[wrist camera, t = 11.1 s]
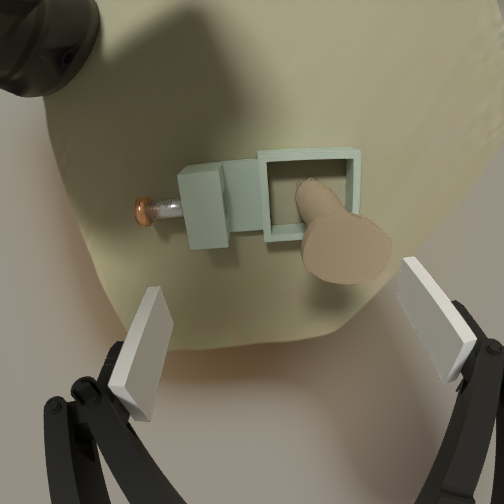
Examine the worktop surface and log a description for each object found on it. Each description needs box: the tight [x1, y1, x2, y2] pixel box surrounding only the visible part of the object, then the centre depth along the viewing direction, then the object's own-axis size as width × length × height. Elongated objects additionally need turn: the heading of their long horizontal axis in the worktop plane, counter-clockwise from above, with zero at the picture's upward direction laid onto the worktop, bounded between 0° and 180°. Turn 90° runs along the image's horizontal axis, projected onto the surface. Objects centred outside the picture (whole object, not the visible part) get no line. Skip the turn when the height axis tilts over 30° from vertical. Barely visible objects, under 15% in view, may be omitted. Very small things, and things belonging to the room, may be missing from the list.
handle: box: [295, 178, 392, 285], centre depth 26 cm, size 5×6×15 cm
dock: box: [177, 147, 361, 250], centre depth 31 cm, size 10×18×5 cm, turn 95°
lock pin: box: [135, 197, 184, 227], centre depth 31 cm, size 3×7×3 cm, turn 95°
